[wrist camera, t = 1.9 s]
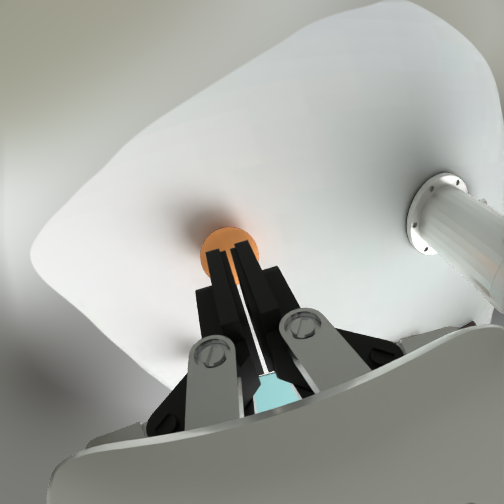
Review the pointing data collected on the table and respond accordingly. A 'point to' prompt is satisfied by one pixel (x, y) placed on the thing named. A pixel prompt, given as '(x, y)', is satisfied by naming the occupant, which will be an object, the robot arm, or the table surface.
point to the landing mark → (273, 393)
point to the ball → (226, 246)
